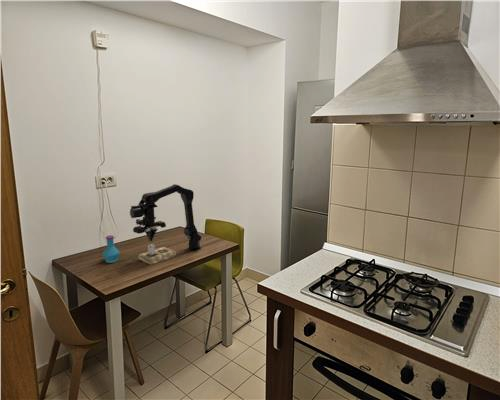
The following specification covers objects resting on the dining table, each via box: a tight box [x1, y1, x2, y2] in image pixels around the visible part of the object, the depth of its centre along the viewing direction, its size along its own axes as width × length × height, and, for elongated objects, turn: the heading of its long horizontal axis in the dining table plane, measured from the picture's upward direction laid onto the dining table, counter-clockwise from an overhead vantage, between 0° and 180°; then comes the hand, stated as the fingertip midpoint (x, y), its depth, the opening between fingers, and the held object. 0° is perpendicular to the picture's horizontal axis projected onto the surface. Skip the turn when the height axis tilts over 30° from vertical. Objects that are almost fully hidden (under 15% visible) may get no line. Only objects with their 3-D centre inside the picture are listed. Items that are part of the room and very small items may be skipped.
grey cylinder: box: [147, 243, 156, 257], centre depth 204 cm, size 4×4×9 cm
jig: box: [138, 246, 177, 265], centre depth 208 cm, size 18×12×3 cm, turn 141°
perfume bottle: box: [102, 234, 120, 263], centre depth 202 cm, size 9×9×15 cm
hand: (150, 241), depth 203 cm, fingers closed
